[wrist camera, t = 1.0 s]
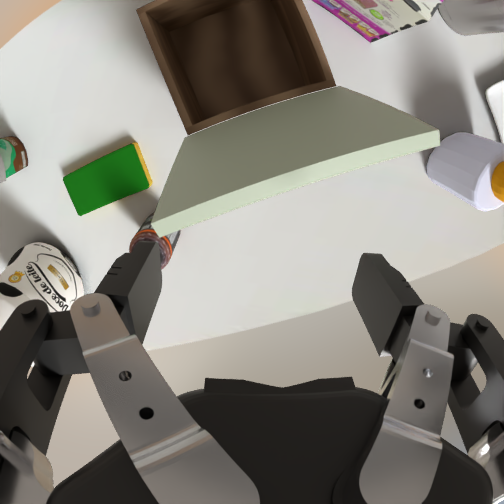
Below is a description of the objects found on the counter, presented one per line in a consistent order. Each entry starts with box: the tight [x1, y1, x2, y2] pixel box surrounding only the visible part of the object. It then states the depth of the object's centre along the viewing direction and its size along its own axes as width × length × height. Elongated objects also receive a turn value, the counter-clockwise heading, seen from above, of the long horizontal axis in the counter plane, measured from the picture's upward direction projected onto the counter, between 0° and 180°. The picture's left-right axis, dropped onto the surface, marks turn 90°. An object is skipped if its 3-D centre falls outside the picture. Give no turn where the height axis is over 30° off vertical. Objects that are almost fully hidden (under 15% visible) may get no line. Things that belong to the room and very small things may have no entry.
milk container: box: [0, 242, 84, 367], centre depth 42 cm, size 17×17×18 cm
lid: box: [151, 86, 440, 238], centre depth 21 cm, size 17×17×1 cm
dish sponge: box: [63, 142, 152, 216], centre depth 41 cm, size 7×14×2 cm, turn 106°
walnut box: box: [136, 0, 336, 135], centre depth 29 cm, size 16×16×12 cm
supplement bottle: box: [129, 213, 180, 269], centre depth 41 cm, size 6×6×11 cm
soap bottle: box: [427, 132, 504, 211], centre depth 32 cm, size 13×8×20 cm, turn 126°
